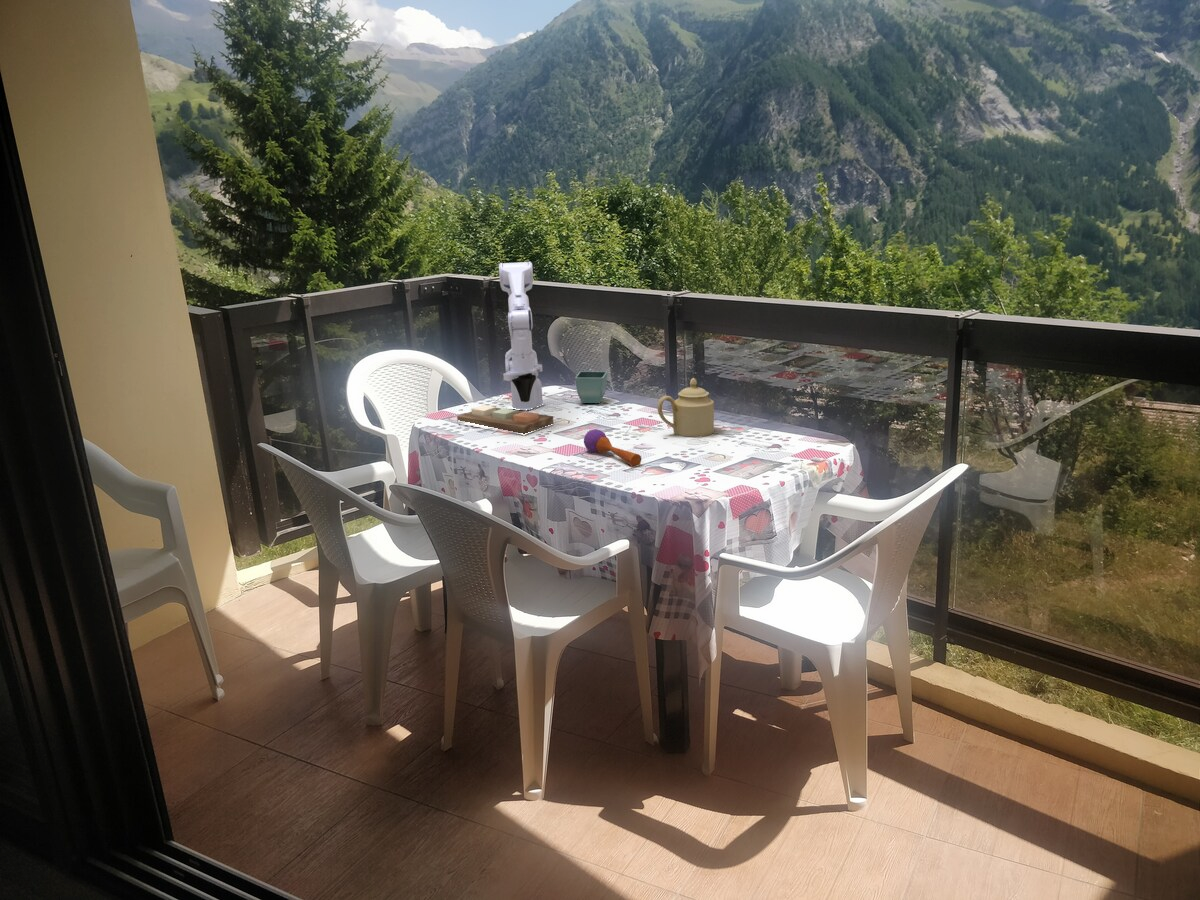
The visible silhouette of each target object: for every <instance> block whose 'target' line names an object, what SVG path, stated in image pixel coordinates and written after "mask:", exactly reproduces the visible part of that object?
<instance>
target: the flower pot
mask: <svg viewBox="0 0 1200 900" xmlns="http://www.w3.org/2000/svg"><path fill="white" fill-rule="evenodd" d="M607 379H608V371H587V370H586V371H579V372H578V373H577V374H576V376H575V377H574V381H575V386H576V387H575V388H576V391H577V395H578V398H579V399H580V400H579V401H580V402H581V403H582V404H583V403H599V404H600V403H601V402H602V400H603V399H604V395H605V392H606V390H607V385H608V384H607V382H608V380H607Z"/></svg>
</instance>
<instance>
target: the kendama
mask: <svg viewBox="0 0 1200 900" xmlns="http://www.w3.org/2000/svg"><path fill="white" fill-rule="evenodd" d="M583 444H584V447H585V448H586V450H588V452H591V453H595V452H597V453H605V452H612V453H613V454H614V455H616V457H617V456H618V457H619V458H620V459H622V461H624V462H626V463H627V464H629V465H630V467H632V466H635V467H638V466H640V465H641V462H642V456H641V455H640V454H638V453H635V452H632V451H628V450H625V449H623V448H618V447H614V446H613V445H612V443H611V441H610V439H609V438H608V437H607V435H606V433H605V432H603V430H601V429H597V428H596V429H590V430H589V431H587V432H586V433H585V435H584V438H583ZM637 465H638V466H637Z"/></svg>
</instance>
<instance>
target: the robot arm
mask: <svg viewBox="0 0 1200 900" xmlns="http://www.w3.org/2000/svg"><path fill="white" fill-rule="evenodd" d="M533 269H534V268H533V262H531V261H525V262H524V261H523V262H519V261H518V262H504V263H503V262H500V263H499V264H498V273H499V275H498V277H499V285H500V288H501V290H502V291H503V292H506V293H507V294H508V298H507V301H508V312H507V322H508V329H509V335H510V346H511V348H510V349H509V350H508V351H506V352H505V354H504V356H505V359H504V364H505V373H503V374H502V375H503V381H505V382H506V381H507V382H510V390H511V405H512V407H513V408H516V409H520V410H526V409H527V410H529V409H531V408H534V407H537V406H540V405H542V404H545V405H546V403H544V402H543V400H544V399H543V387H542V385H543V384H542V382H541V380H540V379H539V378H538V376H539V373H541V372H543V364H540V363H539V361H538V357H537V356H538V355H537V352H536V351H535V350H534V349H533V340H532V330H533V327H534V326H533V325H534V323H533V313H532V310H531V309H532V308H531V307H530V300H529V296H528V295H527V294H526V293H527V292H528V291H530V290H532V289H533V282H534V273H533V272H534V270H533ZM540 407H541V406H540ZM537 408H538V407H537ZM534 409H535V408H534ZM531 410H532V409H531ZM529 411H530V410H529Z"/></svg>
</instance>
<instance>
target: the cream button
mask: <svg viewBox="0 0 1200 900" xmlns="http://www.w3.org/2000/svg"><path fill="white" fill-rule="evenodd" d="M496 408H497V407H496V406H493V405H491V406H490V405H486V404H485V405H479V406H476V407H473V408H471V410H470V412H472V414H473V415H479V416H487V415H490V414H492V412H494V411H496Z"/></svg>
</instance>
